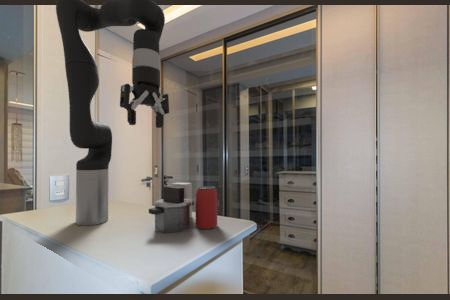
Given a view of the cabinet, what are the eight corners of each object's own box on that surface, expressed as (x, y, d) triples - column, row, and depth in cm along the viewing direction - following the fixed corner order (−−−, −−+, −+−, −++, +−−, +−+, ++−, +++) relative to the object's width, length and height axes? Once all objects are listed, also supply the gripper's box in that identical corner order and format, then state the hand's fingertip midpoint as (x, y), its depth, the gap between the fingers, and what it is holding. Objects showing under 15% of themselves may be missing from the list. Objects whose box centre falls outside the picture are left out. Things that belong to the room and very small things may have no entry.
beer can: (214, 230, 65) (214, 189, 66) (192, 229, 67) (192, 188, 67) (219, 223, 72) (219, 186, 72) (199, 222, 73) (199, 185, 73)
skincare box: (192, 216, 81) (192, 182, 81) (186, 219, 76) (186, 184, 77) (177, 215, 82) (177, 182, 83) (170, 218, 78) (171, 183, 79)
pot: (141, 230, 66) (141, 206, 66) (180, 218, 78) (180, 198, 78) (163, 238, 60) (163, 211, 60) (202, 224, 72) (202, 201, 72)
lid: (146, 205, 68) (146, 187, 68) (175, 199, 77) (175, 183, 77) (171, 210, 61) (171, 191, 61) (199, 203, 70) (199, 186, 70)
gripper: (159, 78, 72) (159, 129, 72) (115, 64, 61) (114, 124, 61) (174, 73, 68) (174, 127, 67) (130, 57, 56) (130, 122, 56)
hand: (146, 126), depth 64 cm, fingers open, 8 cm apart
